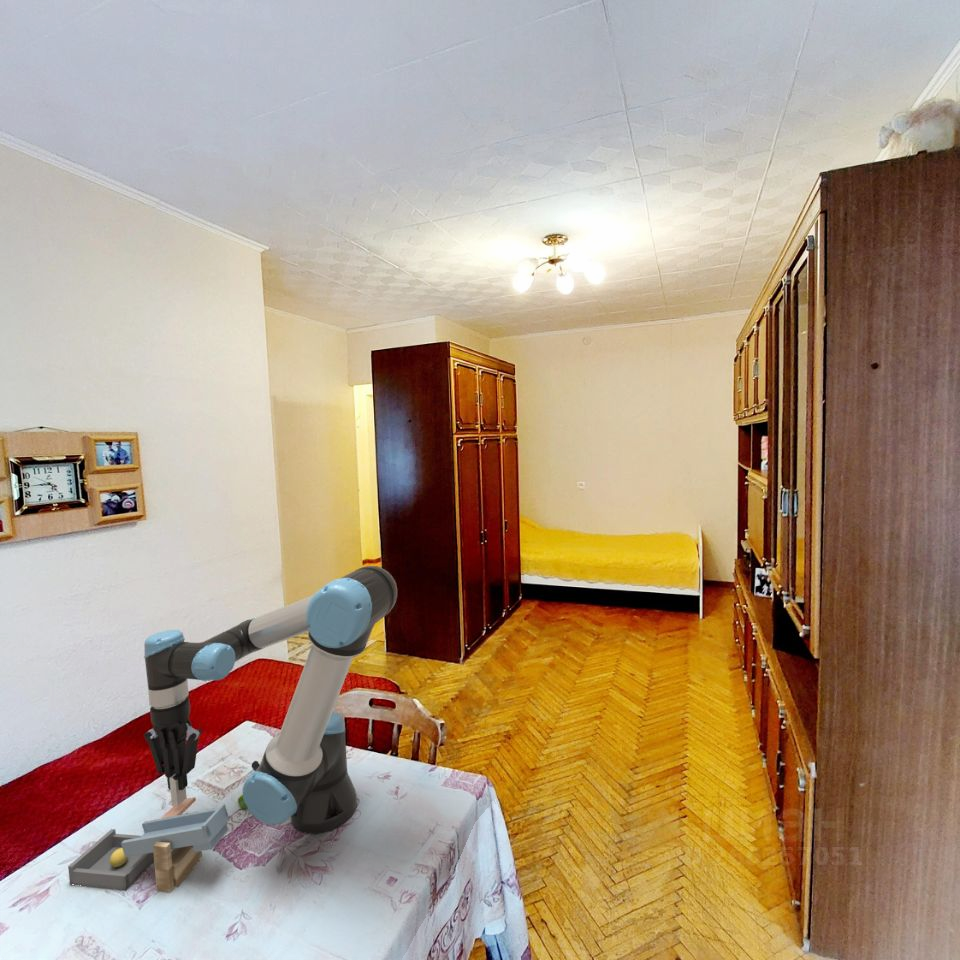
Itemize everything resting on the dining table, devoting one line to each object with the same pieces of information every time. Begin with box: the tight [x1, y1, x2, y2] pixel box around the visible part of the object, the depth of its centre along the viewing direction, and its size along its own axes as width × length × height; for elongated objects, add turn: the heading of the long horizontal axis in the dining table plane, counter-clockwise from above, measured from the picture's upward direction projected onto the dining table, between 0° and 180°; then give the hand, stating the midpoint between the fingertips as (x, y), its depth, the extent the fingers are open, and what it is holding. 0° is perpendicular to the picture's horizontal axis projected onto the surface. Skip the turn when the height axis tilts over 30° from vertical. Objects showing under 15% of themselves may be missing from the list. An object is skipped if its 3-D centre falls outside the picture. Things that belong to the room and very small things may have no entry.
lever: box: [121, 796, 230, 857], centre depth 107 cm, size 20×16×5 cm
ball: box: [110, 848, 128, 867], centre depth 105 cm, size 3×3×3 cm
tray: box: [67, 828, 154, 892], centre depth 105 cm, size 13×10×4 cm
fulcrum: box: [153, 812, 203, 893], centre depth 103 cm, size 4×9×10 cm, turn 171°
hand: (179, 801), depth 113 cm, fingers closed
